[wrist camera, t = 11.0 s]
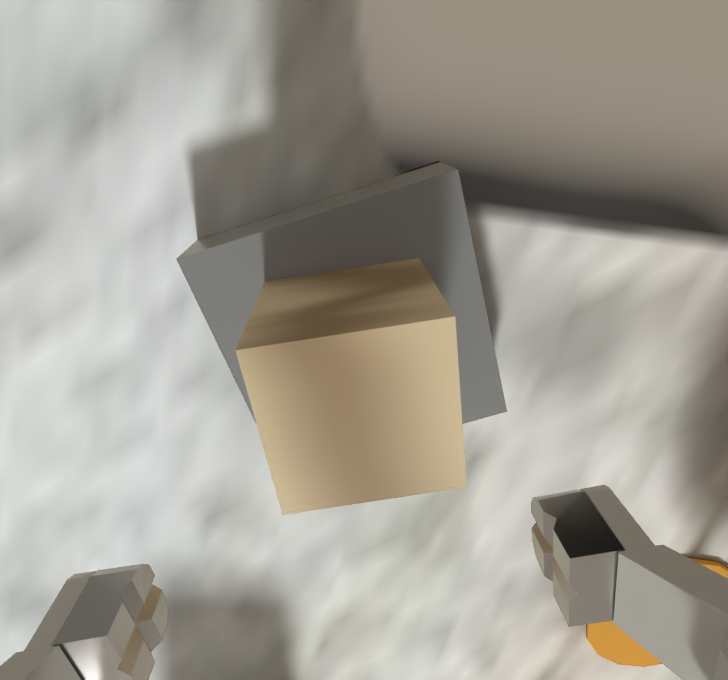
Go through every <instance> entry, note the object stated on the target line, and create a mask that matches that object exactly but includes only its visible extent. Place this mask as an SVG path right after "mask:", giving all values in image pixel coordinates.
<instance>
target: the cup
mask: <svg viewBox="0 0 728 680" xmlns="http://www.w3.org/2000/svg"><path fill="white" fill-rule="evenodd" d="M689 559H691V560H693V561H695V562H697V563H699V564H701V565H703V566H705V567H707V568H708V569H710V570H712V571H714V572H716V573H718V574H720V575H722V576H724V577H726V578H728V568H726V567H725V566H723V565H722V564H720V563H718V562H715V561H707V560H700V559H693V558H689ZM586 637H587V639H588V641H589V642H590V644H591V645H592V647H593V648H594V650H595V651H596V653H597V654H598V655H600V656H602V657H604V658H606V659H608V660H610V661H612V662H614V663H617V664H621V665H631V666H642V667H645V666H652V665H658V664H663V663H661V662H660V661H659V660H658V659H656V658H655V657H654V656H653V655H652V654H650V653H649V652H648V651H647V650H645V649H644V648H643V647H642V646H641V645H639V644H638V643H637V642H636V641H634V640H633V639H632V638H631V637H630V636H628V635H627V634H626V633H625V632H623V631H622V630H621V629H620V628H619V627H617V626H616V625H615V624H614V623H613V621H607V622H600V623H592V624H587V631H586Z"/></svg>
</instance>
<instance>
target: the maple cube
mask: <svg viewBox="0 0 728 680" xmlns="http://www.w3.org/2000/svg"><path fill="white" fill-rule="evenodd" d="M235 351H236V354H237V358H238V361H239V365H240V368H241V372H242V375H243V379H244V382H245V386H246V389H247V393H248V396H249V399H250V403H251V406H252V410H253V413H254V417H255V420H256V424H257V427H258V431H259V434H260V438H261V441H262V445H263V448H264V452H265V455H266V459H267V462H268V466H269V469H270V472H271V476H272V479H273V483H274V486H275V490H276V493H277V497H278V500H279V504H280V507H281V511H282V514H283V515H285V514H292V513H298V512H305V511H311V510H318V509H325V508H331V507H338V506H344V505H351V504H358V503H364V502H371V501H377V500H384V499H391V498H397V497H404V496H410V495H417V494H424V493H430V492H437V491H443V490H450V489H457V488H463V487H466V472H465V457H464V441H463V426H462V411H461V395H460V380H459V365H458V349H457V334H456V319H455V315H454V313H453V312H452V310H451V309H450V307H449V305H448V304H447V302H446V301H445V299H444V297H443V296H442V294H441V292H440V291H439V289H438V288H437V286H436V284H435V283H434V281H433V279H432V278H431V276H430V275H429V273H428V271H427V270H426V268H425V267H424V265H423V263H422V262H421V260H420V258H415V259H408V260H402V261H395V262H389V263H382V264H376V265H369V266H363V267H356V268H350V269H344V270H337V271H331V272H324V273H318V274H311V275H305V276H298V277H292V278H286V279H279V280H273V281H266V282H264V284H263V286H262V289H261V291H260V294H259V296H258V298H257V301H256V303H255V305H254V308H253V310H252V312H251V315H250V317H249V319H248V322H247V324H246V326H245V329H244V331H243V334H242V336H241V338H240V341H239V343H238V345H237V348H236V350H235Z"/></svg>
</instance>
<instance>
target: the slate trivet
mask: <svg viewBox="0 0 728 680" xmlns="http://www.w3.org/2000/svg"><path fill="white" fill-rule="evenodd" d="M397 175H398V176H395V177H392V178H389V179H386V180H383V181H380V182H376V183H373V184H370V185H367V186H364V187H361V188H358V189H355V190H351V191H348V192H345V193H342V194H339V195H336V196H333V197H330V198H327V199H323V200H320V201H317V202H314V203H311V204H308V205H305V206H302V207H299V208H295V209H292V210H289V211H286V212H283V213H280V214H277V215H274V216H270V217H267V218H264V219H261V220H258V221H255V222H252V223H249V224H246V225H242V226H239V227H236V228H233V229H230V230H227V231H224V232H221V233H218V234H214V235H211V236H208V237H205V238H202V239H199V240H197V241H196V242H195V243H194V244H192V245H191V246H190V247H189V248H188V249H187V250H186V251H185V252H184V253H182V254H181V255H180V256H179V257H178V258H177V261H178V263H179V265H180V267H181V269H182V271H183V274H184V276H185V278H186V280H187V282H188V284H189V286H190V288H191V290H192V292H193V294H194V296H195V298H196V300H197V302H198V304H199V306H200V309H201V311H202V313H203V315H204V317H205V319H206V321H207V323H208V325H209V327H210V329H211V331H212V333H213V335H214V337H215V339H216V342H217V344H218V346H219V348H220V350H221V352H222V354H223V356H224V358H225V360H226V362H227V364H228V366H229V368H230V370H231V372H232V375H233V377H234V379H235V381H236V383H237V385H238V387H239V389H240V391H241V393H242V395H243V397H244V399H245V401H246V403H247V405H248V408H249V410H250V412H251V414H252V416H253V418H254V420H255V417H254V413H253V410H252V406H251V403H250V399H249V396H248V393H247V389H246V386H245V382H244V379H243V375H242V372H241V368H240V365H239V361H238V358H237V354H236V351H235V350H236V348H237V345H238V343H239V341H240V338H241V336H242V334H243V331H244V329H245V326H246V324H247V322H248V319H249V317H250V315H251V312H252V310H253V308H254V305H255V303H256V301H257V298H258V296H259V294H260V291H261V289H262V286H263V284H264V282H266V281H273V280H279V279H286V278H292V277H298V276H305V275H311V274H318V273H324V272H331V271H337V270H344V269H350V268H356V267H363V266H369V265H376V264H382V263H389V262H395V261H402V260H408V259H415V258H420V260H421V262H422V263H423V265H424V267H425V268H426V270H427V271H428V273H429V275H430V276H431V278H432V279H433V281H434V283H435V284H436V286H437V288H438V289H439V291H440V292H441V294H442V296H443V297H444V299H445V301H446V302H447V304H448V305H449V307H450V309H451V310H452V312H453V313H454V315H455V319H456V334H457V349H458V365H459V380H460V395H461V411H462V424H464V423H467V422H471V421H474V420H478V419H481V418H485V417H489V416H492V415H496V414H499V413H503V412H507V409H506V404H505V399H504V394H503V389H502V385H501V380H500V375H499V370H498V365H497V360H496V355H495V350H494V345H493V340H492V335H491V330H490V325H489V320H488V315H487V310H486V305H485V300H484V295H483V290H482V286H481V281H480V276H479V271H478V266H477V261H476V256H475V251H474V246H473V241H472V236H471V231H470V226H469V221H468V216H467V211H466V206H465V201H464V197H463V192H462V187H461V182H460V177H459V172H458V169H456V168H454V167H452V166H449V165H447V164H444V163H442V162H440V161H436V162H433V163H430V164H427V165H423V166H420V167H418V168H414V169H411V170H408V171H405V172H402V173H398V174H397ZM255 422H256V420H255Z"/></svg>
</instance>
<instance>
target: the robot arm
mask: <svg viewBox="0 0 728 680" xmlns="http://www.w3.org/2000/svg"><path fill="white" fill-rule="evenodd" d="M531 513H532V515H533V517H534V519H535V521H536V523H535V524H534V526H533V527H532V541H533V546H534V550H535V555H536V557H537V560H538V563H539V566H540V568H541V570H542V572H543V574H544V576H545V577H547V578H548V579H550V580H551V581H553V593H554V597H555V600H556V602H557V604H558V606H559V608H560V610H561V612H562V614H563V616H564V618H565V620H566V622H567V624H568V626H569V627H570V626H578V625H585V624H592V623H600V622H607V621H613V623H614V624H615V625H616V626H617V627H619V628H620V629H621V630H622V631H623V632H625V633H626V634H627V635H628V636H630V637H631V638H632V639H633V640H634V641H636V642H637V643H638V644H639V645H641V646H642V647H643V648H644V649H645V650H647V651H648V652H649V653H650V654H652V655H653V656H654V657H655V658H656V659H658V660H659V661H660V662H661V663H663V664H664V665H665V666H666V667H667V668H669V669H670V670H671V671H672V672H674V673H675V674H676V675H677V676H678V677H680V678H681V679H682V680H728V578H726V577H724V576H722V575H720V574H718V573H716V572H714V571H712V570H710V569H708V568H707V567H705V566H703V565H701V564H699V563H697V562H695V561H693V560H691V559H689V558H687V557H686V556H684V555H682V554H680V553H678V552H676V551H674V550H672V549H670V548H668V547H666V546H664V545H657V546H655V545H654V544H653V542H652V541H651V540H650V539H649V537H648V536H647V535H646V533H645V532H644V531H643V530H642V528H641V527H640V526H639V525H638V523H637V522H636V521H635V519H634V518H633V517H632V516H631V514H630V513H629V512H628V511H627V509H626V508H625V507H624V506H623V504H622V503H621V502H620V500H619V499H618V498H617V497H616V495H615V494H614V493H613V492H612V490H611V489H610V488H609V487H607V486H606V485H601V486H595V487H590V488H584V489H580V490H573V491H568V492H562V493H556V494H551V495H545V496H540V497H534V498H532V501H531ZM154 577H155V575H154V573H153V571H152V569H151V567H150V565H148V564H139V565H132V566H125V567H118V568H111V569H104V570H98V571H93V572H86V573H79V574H74V575H73V576H71V577H70V578H69V579H68V580H67V581H66V582H65V584H64V585H63V587H62V589H61V590H60V592H59V594H58V595H57V597H56V599H55V600H54V602H53V604H52V605H51V607H50V609H49V610H48V612H47V614H46V615H45V617H44V619H43V620H42V622H41V624H40V625H39V627H38V629H37V630H36V632H35V634H34V635H33V637H32V639H31V640H30V642H29V644H28V645H27V647H26V649H25V650H24V651H22V652H17V653H15V654H14V655H13V656H12V657H11V658H9V659H8V660H7V661H6V662H5V663H4V664H2V665H1V666H0V680H149V677H150V674H151V671H152V668H153V665H154V663H155V661H154V658H153V656H152V653H151V651H152V650H153V649H154V648H155V647H156V646H157V645H158V644H159V643H160V641H161V640H162V639H163V636H164V632H165V629H166V626H167V616H168V607H167V601H166V598H165V595H164V593H163V591H162V590H161V589H159V588H157V587H156V586H154V585H152V582H153V579H154Z"/></svg>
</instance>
